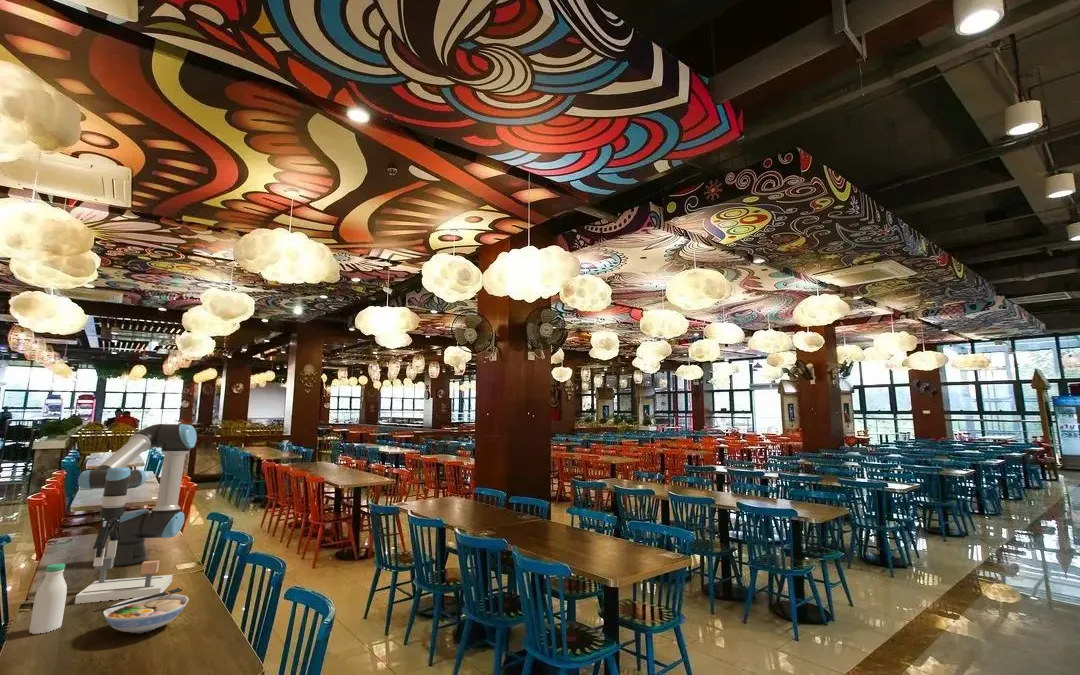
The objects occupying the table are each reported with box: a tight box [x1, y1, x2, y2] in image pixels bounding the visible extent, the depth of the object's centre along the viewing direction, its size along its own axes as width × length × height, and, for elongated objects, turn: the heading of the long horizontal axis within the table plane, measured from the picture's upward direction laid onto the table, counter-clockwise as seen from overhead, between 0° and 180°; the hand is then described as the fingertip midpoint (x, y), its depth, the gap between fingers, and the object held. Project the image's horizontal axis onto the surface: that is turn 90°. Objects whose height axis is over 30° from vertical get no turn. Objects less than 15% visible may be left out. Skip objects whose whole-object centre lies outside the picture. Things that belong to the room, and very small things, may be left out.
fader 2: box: [140, 559, 160, 587], centre depth 200 cm, size 3×5×9 cm, turn 114°
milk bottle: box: [28, 562, 68, 635], centre depth 167 cm, size 8×8×20 cm
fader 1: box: [94, 556, 114, 582], centre depth 204 cm, size 3×5×9 cm, turn 113°
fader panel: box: [74, 574, 173, 605], centre depth 201 cm, size 18×26×3 cm
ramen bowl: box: [92, 588, 190, 634], centre depth 168 cm, size 25×23×8 cm
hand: (104, 561), depth 204 cm, fingers open, 13 cm apart
